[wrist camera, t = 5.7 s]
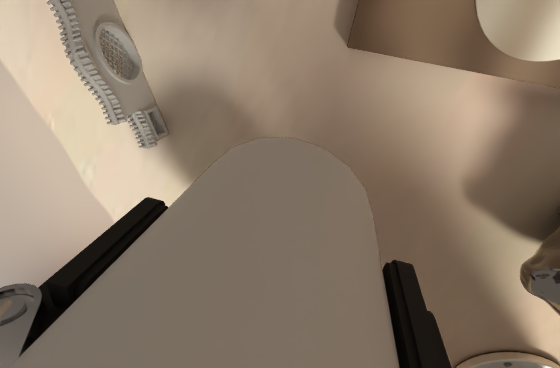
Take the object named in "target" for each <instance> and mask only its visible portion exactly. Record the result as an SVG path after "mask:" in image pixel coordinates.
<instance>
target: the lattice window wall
mask: <svg viewBox="0 0 560 368" xmlns="http://www.w3.org/2000/svg"><path fill="white" fill-rule="evenodd" d="M47 4H48V5H50V4H52V5H53V7H52V8H50V9H51V10H52V11H53V10H55V11H56V12H57V13H55V14H54V16H55V17H57V16H58V17H59V20H57V21H56V22H57V23H58V24H59V23H61V24H62V25H61V26H59V27H58V28H59V29H60V30H61V29H63V30H64V31H63V32H61V33H60V35H65V37H63V38H61V39H60V40H61V41H64V40H65V42H63V43H62V44H63V45H66V47H67V48H66V50H65V53H68V55H66V57H67V58H69V59H70V61H71V62H70V64H71V65H73V66H74V67H75V69H74V70H75V71H77V72H78V76H79V77H80V76H81V77H82V79H81V81H85V82H87V83H85V84H84V86H90V87H91V88H90V89H88V90H89V91H92V90H93V91H94V92H95V93H92V95H97V96H98V98H96V100H100V101H101V102H99V104H100V105H104V107H103V108H101V109H102V110H106V112H103V114H107V115H108V117H105V119H109V120H110V122H107V124H112V125H117V124H120V123H123V122H126V121H127V119H130V120H131V121H128V123H132V124H133V125H130V127H134V129H133V131H136V133H135V135H138V137H136V139H140V141H139V142H138V143H141V144H142V146H139V148H147V149H148V148H151V147H153V146H156V145H157V141H159V140H160V139H162V138H163V137H165V136H166V135H168V134H169V133H168V130H167V128H166V125H165V123H164V121H163V118H162V116H161V114H160V111H159V109H158V106H157V104H156V101H155V99H154V97H153V94H152V92H151V89H150V87H149V85H148V82H147V80H146V78H145V75H144V73H143V70H142V61H141V58H140V56H139V53H138V51H137V49H136V46H135V44H134V42H133V41H132V39H131V38H130V36H129V35H128V34H127V32H126V30H125V27H124V25H123V23H122V20H121V18H120V16H119V13H118V11H117V8H116V6H115V4H114V1H113V0H49V1H48V2H47ZM101 35H102V36H104V37H102V36H101ZM101 38H102V39H104V43H102V42H101ZM106 41H107V42H108V46H107V45H106ZM101 44H102V45H103V46H104V49H102V48H101ZM110 44H111V45H112V49H111V48H110ZM114 47H115V49H116V50H117V52H116V51H114ZM106 48H108V52H107V51H106ZM110 50H111V51H112V54H110ZM102 51H103V53H102ZM114 53H116V54H117V58H116V57H115V56H114ZM106 54H108V57H106ZM110 56H111V57H112V60H111V59H110ZM119 56H120V58H121V60H120V59H119ZM114 58H115V59H116V60H117V63H116V62H114ZM106 59H107V61H106ZM110 61H111V62H112V65H110ZM119 62H121V63H122V66H121V65H119ZM114 64H116V65H117V68H115V67H114ZM111 67H112V68H111ZM119 67H121V68H122V70H121V71H120V70H119ZM114 69H115V70H117V73H115V72H114ZM119 72H120V73H121V76H119ZM126 116H128V117H126Z"/></svg>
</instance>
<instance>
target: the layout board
mask: <svg viewBox="0 0 560 368" xmlns="http://www.w3.org/2000/svg"><path fill="white" fill-rule="evenodd" d="M347 47H348V48H353V49H358V50H363V51H368V52H374V53H379V54H384V55H389V56H394V57H399V58H405V59H410V60H415V61H420V62H425V63H431V64H436V65H441V66H446V67H451V68H456V69H462V70H467V71H472V72H477V73H482V74H488V75H493V76H498V77H503V78H508V79H513V80H519V81H524V82H529V83H534V84H539V85H545V86H550V87H555V88H560V0H359V2H358V6H357V10H356V14H355V17H354V21H353V25H352V29H351V33H350V37H349V41H348V45H347Z"/></svg>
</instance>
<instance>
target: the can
mask: <svg viewBox="0 0 560 368" xmlns="http://www.w3.org/2000/svg"><path fill="white" fill-rule="evenodd" d="M9 368H399V362H398V356H397V351H396V345H395V339H394V333H393V328H392V322H391V316H390V311H389V305H388V299H387V294H386V288H385V282H384V277H383V271H382V265H381V260H380V254H379V248H378V243H377V237H376V231H375V226H374V220H373V214H372V211H371V207H370V203H369V200H368V196H367V193H366V189H365V188H364V186H363V185H362V184H361V182H360V181H359V180H358V178H357V177H356V175H355V174H354V173H353V171H352V170H351V169H350V167H349V166H348V165H347V164H345V163H344V162H342V161H341V160H340V159H338V158H337V157H335V156H334V155H333V154H331V153H330V152H328V151H327V150H326V149H324V148H322V147H319V146H316V145H313V144H310V143H307V142H304V141H301V140H298V139H295V138H263V137H262V138H259V139H256V140H252V141H249V142H246V143H243V144H240V145H237V146H234V147H233V148H232V149H230V150H229V151H228V152H227V153H225V154H224V155H223V156H221V157H220V158H219V159H218V160H216V161H215V162H214V163H213V164H212V165H211V166H210V167H209V168H208V169H207V170H206V171H205V172H204V173H203V174H202V175H201V176H200V177H199V178H198V179H197V180H196V181H195V182H194V183H193V184H192V185H191V186H190V187H189V188H188V189H187V190H186V191H185V192H184V193H183V194H182V195H181V196H180V197H179V198H178V199H177V200H176V201H175V202H174V203H173V204H172V205H171V206H170V207H169V208H168V209H167V210H166V211H165V212H164V213H163V214H162V215H161V216H160V217H159V218H158V219H157V220H156V221H155V222H154V223H153V224H152V225H151V226H150V227H149V228H148V229H147V230H146V231H145V232H144V233H143V234H142V235H141V236H140V237H139V238H138V239H137V240H136V241H135V242H134V243H133V244H132V245H131V246H130V247H129V248H128V249H127V250H126V251H125V252H124V253H123V254H122V255H121V256H120V257H119V258H118V259H117V260H116V261H115V262H114V263H113V264H112V265H111V266H110V267H109V268H108V269H107V270H106V271H105V272H104V273H103V274H102V275H101V276H100V277H99V278H98V279H97V280H96V281H95V282H94V283H93V284H92V285H91V286H90V287H89V288H88V289H87V290H86V291H85V292H84V293H83V294H82V295H81V296H80V297H79V298H78V299H77V300H76V301H75V302H74V303H73V304H72V305H71V306H70V307H69V308H68V309H67V310H66V311H65V312H64V313H63V314H62V315H61V316H60V317H59V318H58V319H57V320H56V321H55V322H54V323H53V324H52V325H51V326H50V327H49V328H48V329H47V330H46V331H45V332H44V333H43V334H42V335H41V336H40V337H39V338H38V339H37V340H36V341H35V342H34V343H33V344H32V345H31V346H30V347H29V348H28V349H27V350H26V351H25V352H24V353H23V354H22V355H21V356H20V357H19V358H18V359H17V360H16V361H15V362H14V363H13V364H12V365H11V366H10V367H9Z"/></svg>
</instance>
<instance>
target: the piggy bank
mask: <svg viewBox="0 0 560 368" xmlns="http://www.w3.org/2000/svg"><path fill="white" fill-rule="evenodd" d="M559 214H560V208H559ZM520 280H521V283H522V285H523V287H524V288H525V289H526V290H527V291H528V292H529V293H531V294H532V295H534V296H537V297H539V298H541V299H542V300H544V301H545V302H546V303H547V304H548V305H549V306H550V307H551V308H552V309H553V310H554V311H555V312H556V313H557V314H558V315H559V316H560V227H559V228H558V229H557V230H555V231H554V232H553V233H552V234H551V235H550V236H549V237H548V238H547V239H546V240H545V241H544V242H543V243H542V244H541V245H540V247H539V248H538V249H537V251H536V252H535V254H534V255H533V256H532V257H531V258H529V259H528V260H526V261H525V262H524V263H523V264H522V266H521V268H520Z"/></svg>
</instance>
